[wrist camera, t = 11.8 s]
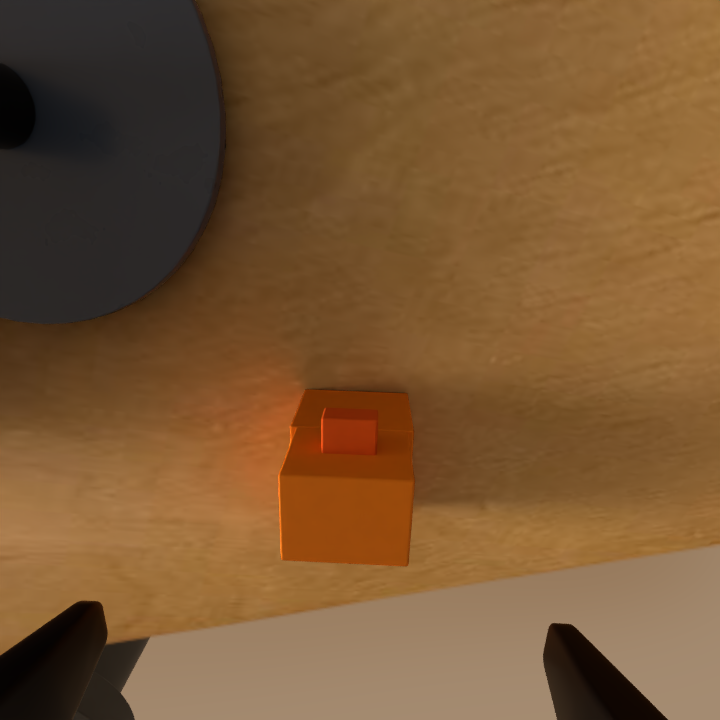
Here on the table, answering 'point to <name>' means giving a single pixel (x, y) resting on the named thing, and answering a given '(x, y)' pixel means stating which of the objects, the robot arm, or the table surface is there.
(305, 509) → the duck
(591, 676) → the robot arm
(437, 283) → the table surface
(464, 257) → the table surface
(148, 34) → the lid
